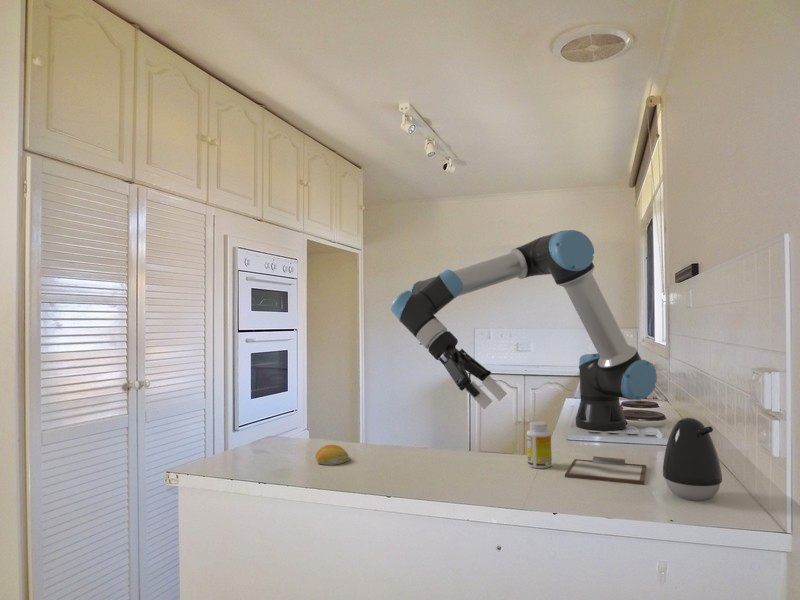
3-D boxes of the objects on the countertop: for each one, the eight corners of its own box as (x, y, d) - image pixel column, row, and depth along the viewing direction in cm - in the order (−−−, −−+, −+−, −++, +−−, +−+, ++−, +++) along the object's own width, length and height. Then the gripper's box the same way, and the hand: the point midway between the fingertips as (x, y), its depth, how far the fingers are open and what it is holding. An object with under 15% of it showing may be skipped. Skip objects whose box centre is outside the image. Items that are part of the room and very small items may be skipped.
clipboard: (574, 461, 137) (574, 454, 137) (646, 467, 130) (646, 460, 130) (564, 476, 124) (564, 469, 124) (643, 484, 118) (643, 476, 118)
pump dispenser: (691, 508, 103) (688, 424, 103) (652, 491, 113) (649, 415, 113) (736, 502, 105) (733, 420, 106) (694, 486, 115) (691, 411, 116)
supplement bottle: (556, 465, 134) (554, 422, 134) (544, 470, 130) (543, 426, 130) (535, 461, 138) (533, 419, 138) (523, 466, 134) (521, 423, 134)
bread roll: (318, 467, 138) (318, 451, 138) (314, 459, 147) (313, 443, 147) (351, 464, 140) (351, 448, 140) (345, 456, 149) (345, 441, 149)
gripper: (445, 347, 158) (499, 404, 151) (408, 353, 135) (470, 420, 128) (462, 328, 156) (518, 384, 149) (428, 331, 133) (492, 397, 126)
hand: (496, 401), depth 138 cm, fingers open, 13 cm apart
